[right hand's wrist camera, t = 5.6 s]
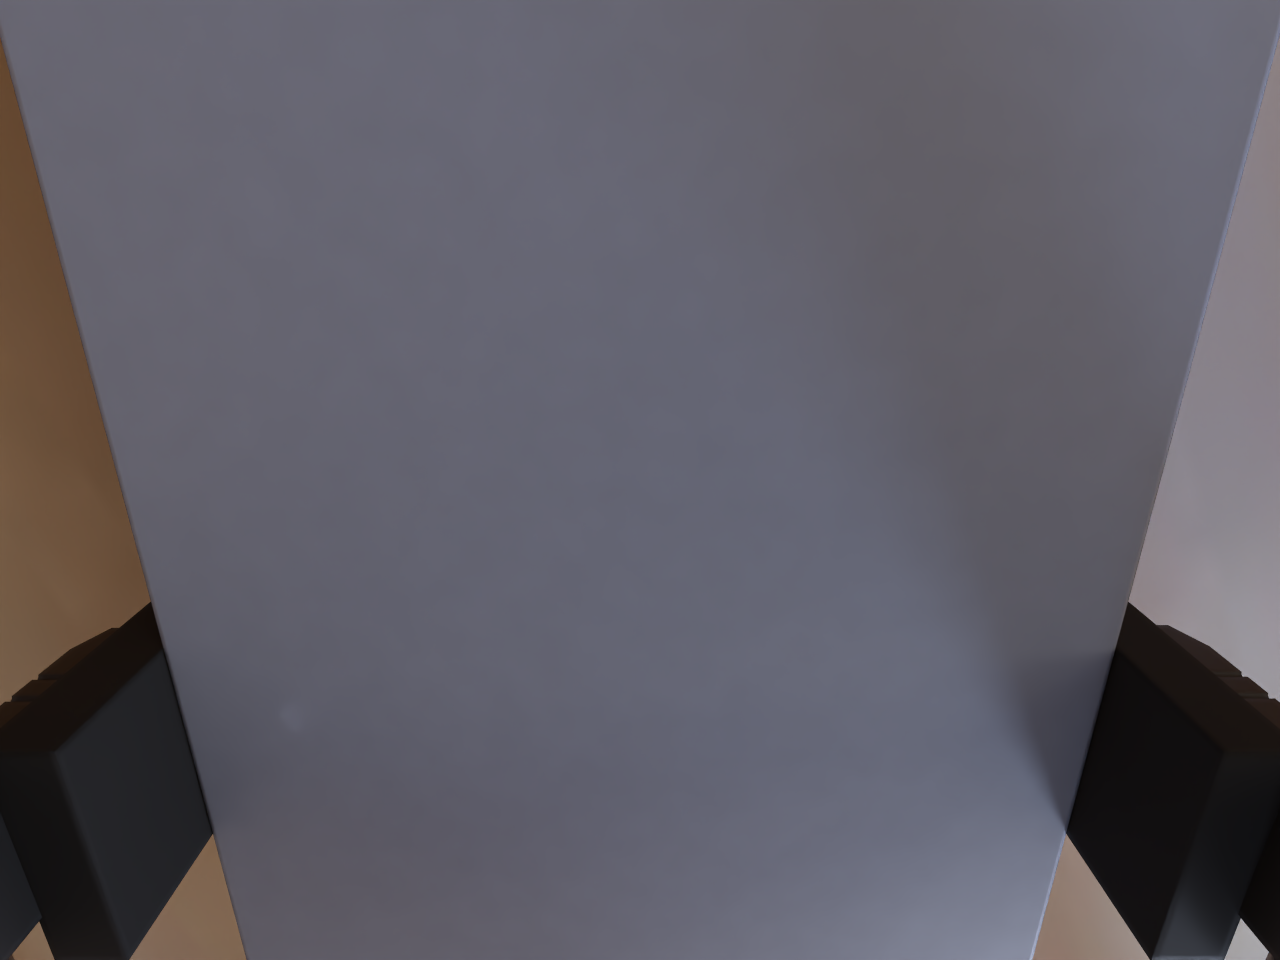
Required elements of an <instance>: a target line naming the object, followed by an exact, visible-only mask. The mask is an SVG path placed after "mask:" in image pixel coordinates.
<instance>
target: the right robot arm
mask: <svg viewBox="0 0 1280 960" xmlns="http://www.w3.org/2000/svg"><path fill="white" fill-rule="evenodd" d="M38 676H39V677H38V680H31V681H30V682H29V683H28V684H26V685H25V686H24V687H23V688H22V689H20V690H19V691H18V692H17V693H15V694H14V695H13V696H12V700H11V702H4V703H3V704H2V705H0V960H14V958H13V956H12V953H13V952H14V951H15V950H16V949H17V947H18V946H19V945H20V944H21V942H22V941H23V940H24V939H25V938H26V936H27V935H28V934H29V933H30V932H31V930H32V929H33V928H34V927H35V925H36V924H37V923H38V922H40V924H41V927H42V929H43V932H44V934H45V937H46V939H47V942H48V944H49V947H50V949H51V952H52V954H53V957H54V959H55V960H129V959H130V958H131V956H132V955H133V953H134V952H135V950H136V949H137V947H138V946H139V944H140V943H141V941H142V939H143V938H144V936H145V935H146V933H147V932H148V930H149V929H150V927H151V926H152V924H153V923H154V921H155V920H156V918H157V917H158V915H159V914H160V912H161V911H162V909H163V908H164V906H165V905H166V903H167V902H168V900H169V899H170V897H171V896H172V894H173V893H174V891H175V890H176V888H177V887H178V885H179V884H180V882H181V881H182V879H183V878H184V876H185V875H186V873H187V872H188V870H189V869H190V867H191V866H192V864H193V863H194V861H195V860H196V858H197V857H198V855H199V854H200V852H201V851H202V849H203V848H204V846H205V845H206V843H207V842H208V840H209V839H210V837H211V836H212V834H213V831H212V828H211V824H210V820H209V816H208V813H207V809H206V805H205V801H204V798H203V794H202V790H201V786H200V783H199V779H198V775H197V771H196V768H195V764H194V760H193V757H192V753H191V749H190V745H189V742H188V738H187V734H186V730H185V727H184V723H183V719H182V715H181V712H180V708H179V704H178V700H177V697H176V693H175V689H174V685H173V682H172V678H171V674H170V670H169V667H168V663H167V659H166V655H165V652H164V648H163V644H162V640H161V637H160V633H159V629H158V626H157V622H156V618H155V614H154V611H153V607H152V603H151V602H150V603H149V604H147V605H146V606H145V607H144V608H143V609H141V610H140V611H139V612H138V613H137V614H136V615H134V616H133V617H132V618H131V619H130V620H128V621H127V622H126V623H125V624H124V625H122V626H121V627H120V628H111V629H109V630H107V631H105V632H103V633H101V634H99V635H97V636H95V637H93V638H91V639H89V640H87V641H86V642H84V643H82V644H80V645H78V646H76V647H74V648H72V649H70V650H69V651H68V652H66V653H65V654H64V655H63V656H61V657H60V658H59V659H58V660H56V661H55V662H54V663H53V664H51V665H50V666H49V667H48V668H46V669H45V670H44V671H43V672H41V673H40V674H39V675H38ZM1066 834H1067V835H1068V837H1069V838H1070V840H1071V841H1072V843H1073V844H1074V846H1075V847H1076V849H1077V850H1078V852H1079V853H1080V855H1081V856H1082V858H1083V859H1084V861H1085V862H1086V864H1087V865H1088V867H1089V868H1090V870H1091V871H1092V873H1093V874H1094V876H1095V877H1096V879H1097V881H1098V882H1099V884H1100V885H1101V887H1102V888H1103V890H1104V891H1105V893H1106V894H1107V896H1108V897H1109V899H1110V900H1111V902H1112V903H1113V905H1114V906H1115V908H1116V909H1117V911H1118V912H1119V914H1120V915H1121V917H1122V918H1123V920H1124V921H1125V923H1126V924H1127V926H1128V927H1129V929H1130V930H1131V932H1132V933H1133V935H1134V936H1135V938H1136V939H1137V941H1138V942H1139V944H1140V945H1141V947H1142V948H1143V950H1144V951H1145V953H1146V954H1147V956H1148V957H1149V959H1150V960H1224V959H1225V956H1226V954H1227V951H1228V949H1229V946H1230V944H1231V941H1232V939H1233V936H1234V934H1235V931H1236V929H1237V926H1238V924H1239V921H1240V919H1242V920H1243V921H1244V922H1245V923H1246V925H1247V926H1248V927H1249V928H1250V929H1251V931H1252V932H1253V933H1254V934H1255V936H1256V937H1257V938H1258V939H1259V940H1260V942H1261V943H1262V944H1263V945H1264V946H1265V948H1266V949H1267V950H1268V951H1269V953H1268V956H1267V958H1266V960H1280V702H1278V701H1277V700H1276V699H1269V697H1268V693H1267V692H1266V691H1265V690H1263V689H1262V688H1261V687H1260V686H1258V685H1257V684H1256V683H1255V682H1253V681H1252V680H1251V679H1250V678H1248V677H1242V675H1241V671H1240V670H1238V669H1237V668H1236V667H1235V666H1233V665H1232V664H1231V663H1230V662H1228V661H1227V660H1226V659H1225V658H1223V657H1222V656H1221V655H1220V654H1218V653H1217V652H1216V651H1215V650H1213V649H1212V648H1211V647H1210V646H1208V645H1206V644H1204V643H1202V642H1200V641H1198V640H1196V639H1194V638H1192V637H1190V636H1188V635H1186V634H1184V633H1182V632H1180V631H1178V630H1176V629H1174V628H1172V627H1170V626H1168V625H1156V624H1154V623H1153V622H1152V621H1151V620H1150V619H1148V618H1147V617H1146V616H1145V615H1144V614H1142V613H1141V612H1140V611H1139V610H1138V609H1136V608H1135V607H1134V606H1133V605H1132V604H1130V603H1129V602H1128V604H1127V607H1126V611H1125V615H1124V618H1123V622H1122V626H1121V630H1120V633H1119V637H1118V641H1117V645H1116V648H1115V652H1114V656H1113V660H1112V663H1111V667H1110V671H1109V675H1108V678H1107V682H1106V686H1105V690H1104V693H1103V697H1102V701H1101V705H1100V708H1099V712H1098V716H1097V719H1096V723H1095V727H1094V731H1093V734H1092V738H1091V742H1090V746H1089V749H1088V753H1087V757H1086V761H1085V764H1084V768H1083V772H1082V776H1081V779H1080V783H1079V787H1078V791H1077V794H1076V798H1075V802H1074V806H1073V809H1072V813H1071V817H1070V820H1069V824H1068V828H1067V832H1066Z"/></svg>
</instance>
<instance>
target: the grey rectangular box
mask: <svg viewBox="0 0 1280 960" xmlns="http://www.w3.org/2000/svg"><path fill="white" fill-rule="evenodd" d="M1279 35H1280V0H0V38H1V42H2V45H3V49H4V53H5V57H6V60H7V64H8V68H9V72H10V75H11V79H12V83H13V87H14V90H15V94H16V98H17V102H18V105H19V109H20V113H21V117H22V120H23V124H24V128H25V132H26V135H27V139H28V143H29V147H30V150H31V154H32V158H33V161H34V165H35V169H36V173H37V176H38V180H39V184H40V188H41V191H42V195H43V199H44V203H45V206H46V210H47V214H48V218H49V221H50V225H51V229H52V233H53V236H54V240H55V244H56V248H57V251H58V255H59V259H60V263H61V266H62V270H63V274H64V277H65V281H66V285H67V289H68V292H69V296H70V300H71V304H72V307H73V311H74V315H75V319H76V322H77V326H78V330H79V334H80V337H81V341H82V345H83V349H84V352H85V356H86V360H87V364H88V367H89V371H90V375H91V379H92V382H93V386H94V390H95V393H96V397H97V401H98V405H99V408H100V412H101V416H102V420H103V423H104V427H105V431H106V435H107V438H108V442H109V446H110V450H111V453H112V457H113V461H114V465H115V468H116V472H117V476H118V480H119V483H120V487H121V491H122V495H123V498H124V502H125V506H126V510H127V513H128V517H129V521H130V524H131V528H132V532H133V536H134V539H135V543H136V547H137V551H138V554H139V558H140V562H141V566H142V569H143V573H144V577H145V581H146V584H147V588H148V592H149V596H150V599H151V603H152V607H153V611H154V614H155V618H156V622H157V626H158V629H159V633H160V637H161V640H162V644H163V648H164V652H165V655H166V659H167V663H168V667H169V670H170V674H171V678H172V682H173V685H174V689H175V693H176V697H177V700H178V704H179V708H180V712H181V715H182V719H183V723H184V727H185V730H186V734H187V738H188V742H189V745H190V749H191V753H192V757H193V760H194V764H195V768H196V771H197V775H198V779H199V783H200V786H201V790H202V794H203V798H204V801H205V805H206V809H207V813H208V816H209V820H210V824H211V828H212V831H213V835H214V839H215V843H216V846H217V850H218V854H219V858H220V861H221V865H222V869H223V873H224V876H225V880H226V884H227V887H228V891H229V895H230V899H231V902H232V906H233V910H234V914H235V917H236V921H237V925H238V929H239V932H240V936H241V940H242V944H243V947H244V951H245V955H246V959H247V960H1032V959H1033V955H1034V951H1035V948H1036V944H1037V940H1038V936H1039V933H1040V929H1041V925H1042V921H1043V918H1044V914H1045V910H1046V907H1047V903H1048V899H1049V895H1050V892H1051V888H1052V884H1053V880H1054V877H1055V873H1056V869H1057V865H1058V862H1059V858H1060V854H1061V850H1062V847H1063V843H1064V839H1065V835H1066V832H1067V828H1068V824H1069V820H1070V817H1071V813H1072V809H1073V806H1074V802H1075V798H1076V794H1077V791H1078V787H1079V783H1080V779H1081V776H1082V772H1083V768H1084V764H1085V761H1086V757H1087V753H1088V749H1089V746H1090V742H1091V738H1092V734H1093V731H1094V727H1095V723H1096V719H1097V716H1098V712H1099V708H1100V705H1101V701H1102V697H1103V693H1104V690H1105V686H1106V682H1107V678H1108V675H1109V671H1110V667H1111V663H1112V660H1113V656H1114V652H1115V648H1116V645H1117V641H1118V637H1119V633H1120V630H1121V626H1122V622H1123V618H1124V615H1125V611H1126V607H1127V604H1128V600H1129V596H1130V592H1131V589H1132V585H1133V581H1134V577H1135V574H1136V570H1137V566H1138V562H1139V559H1140V555H1141V551H1142V547H1143V544H1144V540H1145V536H1146V532H1147V529H1148V525H1149V521H1150V517H1151V514H1152V510H1153V506H1154V503H1155V499H1156V495H1157V491H1158V488H1159V484H1160V480H1161V476H1162V473H1163V469H1164V465H1165V461H1166V458H1167V454H1168V450H1169V446H1170V443H1171V439H1172V435H1173V431H1174V428H1175V424H1176V420H1177V416H1178V413H1179V409H1180V405H1181V402H1182V398H1183V394H1184V390H1185V387H1186V383H1187V379H1188V375H1189V372H1190V368H1191V364H1192V360H1193V357H1194V353H1195V349H1196V345H1197V342H1198V338H1199V334H1200V330H1201V327H1202V323H1203V319H1204V315H1205V312H1206V308H1207V304H1208V301H1209V297H1210V293H1211V289H1212V286H1213V282H1214V278H1215V274H1216V271H1217V267H1218V263H1219V259H1220V256H1221V252H1222V248H1223V244H1224V241H1225V237H1226V233H1227V229H1228V226H1229V222H1230V218H1231V214H1232V211H1233V207H1234V203H1235V200H1236V196H1237V192H1238V188H1239V185H1240V181H1241V177H1242V173H1243V170H1244V166H1245V162H1246V158H1247V155H1248V151H1249V147H1250V143H1251V140H1252V136H1253V132H1254V128H1255V125H1256V121H1257V117H1258V113H1259V110H1260V106H1261V102H1262V99H1263V95H1264V91H1265V87H1266V84H1267V80H1268V76H1269V72H1270V69H1271V65H1272V61H1273V57H1274V54H1275V50H1276V46H1277V42H1278V39H1279Z"/></svg>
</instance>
